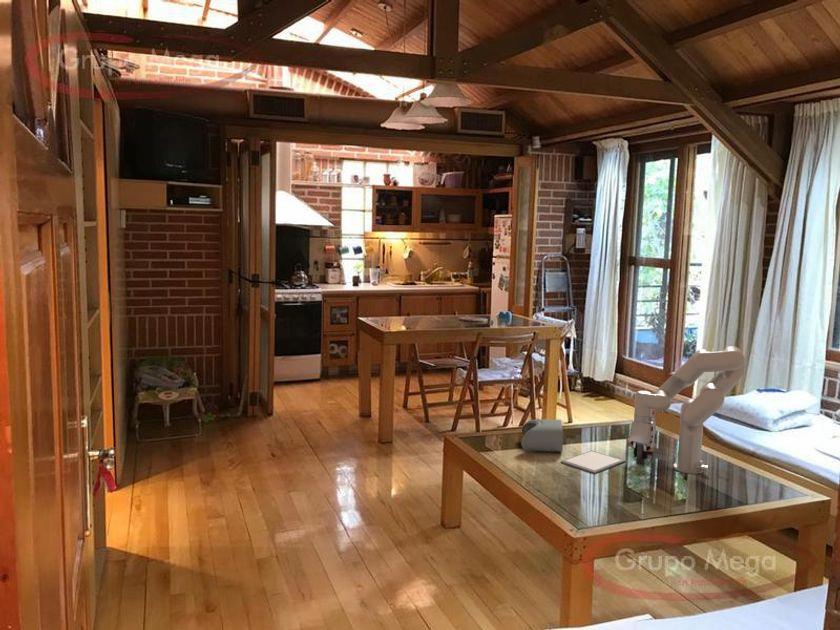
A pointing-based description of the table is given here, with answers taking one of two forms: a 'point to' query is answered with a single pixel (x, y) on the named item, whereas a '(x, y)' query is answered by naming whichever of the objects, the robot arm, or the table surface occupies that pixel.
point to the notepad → (593, 461)
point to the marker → (640, 454)
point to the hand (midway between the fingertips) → (640, 457)
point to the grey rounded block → (542, 435)
